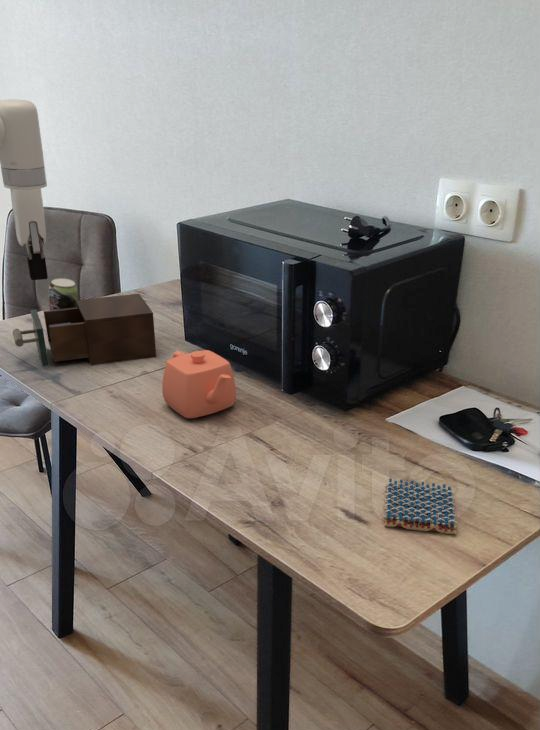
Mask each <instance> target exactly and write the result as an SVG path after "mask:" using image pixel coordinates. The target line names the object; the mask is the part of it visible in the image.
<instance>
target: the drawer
mask: <svg viewBox="0 0 540 730" xmlns="http://www.w3.org/2000/svg"><path fill="white" fill-rule="evenodd" d="M29 311H30V317H31V322H32V327H33V329H25V330H21V329H18V328H14V329H13V330H12V336H13V340H14V344H15V346H16V347H21V348H22V347H23V346H24V344H31V343H35V344H36V349H37V353H38V355H39V358H40V362H41V365H42V367H47V366H48V367H49V366H50V364H49V357H48V352H47V346H46V339H45V334H44V333H45V332H44V328H43V324H42V322H41V318H40V317H39V314H38V310H37V309H30V310H29ZM43 316H44V317H43V318H44V323H45V329H46V336H47V341H48V345H49V349H50V351H51V355H52V357H53V360H54V362H63V361H72V360H78V359H79V360H80V359H88V357H89V349H88V341H87V334H86V326H85V321H84V319H83V317H82V315H81V313H80V311H79V309H78V307H75V308H65V309H56V310H49V309H48V310H43ZM61 323H71V324H63V325H54V326H49V325H53V324H61ZM29 334H34V337H33V338H26V339H24V338H23V335H29Z"/></svg>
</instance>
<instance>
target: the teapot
mask: <svg viewBox="0 0 540 730" xmlns="http://www.w3.org/2000/svg"><path fill="white" fill-rule="evenodd" d="M161 387H162V389H161V390H162V392H161V393H162V397H163V399H164V401H165V403H166V405H167V406H168V407H170V408H171V409H172V410H174V411H175V412H176V413H177V414H179V415H181V416H182V417H184V418H186V419H196V418H199V417H204V416H208V415H212V414H215V413H218V412H220V411H223V410H226V409H229V408H230V407H232V406H233V405H234V404H235V401H236V398H237V387H236V381H235V376H234V372H233V368H232V366H231V362H229V361H228V360H227V359H225V358H224V357H222V356H221V355H219V354H217V353H215V352H214V351H212V350H209V349H203V350H196V351H192V352H189V353H184V352H183V351H181V350H176V351H174V352H173V353H172V358H170V359H168V360H166V361H165V366H164V370H163V375H162V386H161Z"/></svg>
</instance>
